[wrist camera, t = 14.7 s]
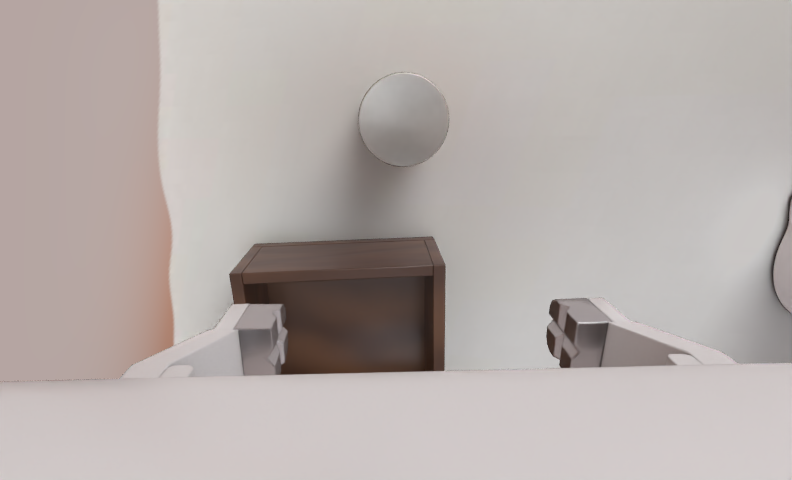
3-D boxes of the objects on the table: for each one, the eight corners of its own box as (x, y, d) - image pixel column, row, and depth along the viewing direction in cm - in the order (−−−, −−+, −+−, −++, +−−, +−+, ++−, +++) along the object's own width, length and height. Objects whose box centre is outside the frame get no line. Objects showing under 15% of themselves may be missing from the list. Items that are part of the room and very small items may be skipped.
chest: (254, 243, 37) (228, 273, 31) (433, 236, 38) (445, 264, 31) (276, 402, 42) (258, 457, 36) (433, 393, 43) (443, 446, 37)
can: (395, 63, 33) (402, 49, 25) (446, 114, 35) (469, 118, 26) (347, 118, 34) (338, 123, 26) (398, 166, 36) (405, 186, 27)
